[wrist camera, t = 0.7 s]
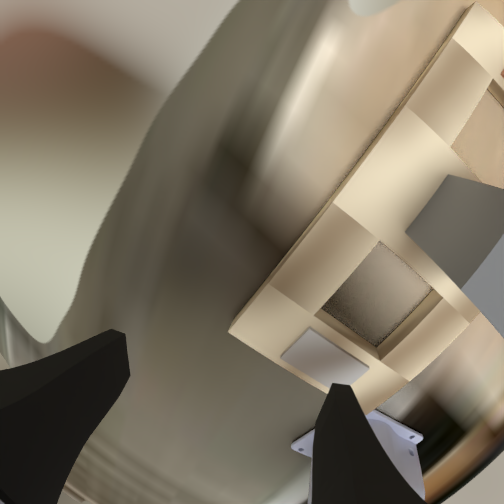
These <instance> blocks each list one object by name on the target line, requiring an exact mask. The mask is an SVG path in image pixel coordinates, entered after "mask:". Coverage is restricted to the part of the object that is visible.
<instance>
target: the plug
mask: <svg viewBox="0 0 504 504" xmlns="http://www.w3.org/2000/svg"><path fill="white" fill-rule="evenodd" d="M405 233H406V234H407V235H408V236H409V237H410V238H411V239H412V240H413V241H414V242H415V243H416V244H417V245H418V246H419V247H420V248H421V249H422V250H423V251H424V252H425V253H426V254H427V255H428V256H429V257H430V258H431V259H432V260H433V261H434V262H435V263H436V264H437V265H438V266H439V267H440V268H441V269H442V270H443V271H444V273H445V274H446V275H447V276H448V277H449V278H450V279H451V280H452V281H453V282H454V283H455V284H456V286H457V287H458V288H459V289H460V290H461V291H462V292H463V293H464V294H465V295H466V296H467V297H468V298H469V299H470V301H471V302H472V303H473V304H474V305H475V306H476V307H477V308H478V309H479V310H480V311H481V313H482V314H483V315H484V316H485V317H486V318H487V319H488V320H489V322H490V323H491V324H492V325H493V326H494V327H495V329H496V330H497V331H498V332H499V333H500V334H501V336H502V337H503V338H504V189H501V188H498V187H494V186H491V185H487V184H484V183H480V182H477V181H473V180H469V179H465V178H462V177H458V176H454V175H450V174H448V175H447V177H446V178H445V179H444V181H443V182H442V184H441V185H440V186H439V188H438V189H437V190H436V192H435V193H434V194H433V196H432V197H431V199H430V200H429V201H428V203H427V204H426V205H425V206H424V208H423V209H422V210H421V212H420V213H419V214H418V216H417V217H416V218H415V219H414V221H413V222H412V223H411V225H410V226H409V227H408V228H407V230H406V231H405Z"/></svg>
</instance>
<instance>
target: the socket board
mask: <svg viewBox="0 0 504 504" xmlns="http://www.w3.org/2000/svg"><path fill="white" fill-rule="evenodd" d="M486 89H488V90H489V91H490V92H491V93H492V95H493V96H494V97H495V98H496V99H497V100H498V101H499V103H500V104H501V105H502V106H503V107H504V27H503V26H502V25H501V24H500V23H499V22H498V21H497V20H496V19H495V18H494V17H493V16H492V15H491V14H490V13H489V12H488V11H487V10H486V9H485V8H484V7H482V6H481V5H480V4H479V3H478V2H477V1H475V2H474V3H473V4H472V5H471V6H469V7H468V8H467V9H466V10H465V12H464V13H463V15H462V16H461V18H460V19H459V21H458V22H457V24H456V25H455V27H454V28H453V30H452V31H451V33H450V34H449V36H448V37H447V39H446V40H445V42H444V43H443V44H442V46H441V47H440V49H439V50H438V52H437V53H436V55H435V56H434V57H433V59H432V60H431V62H430V63H429V65H428V66H427V67H426V69H425V70H424V72H423V73H422V75H421V76H420V77H419V79H418V80H417V82H416V83H415V84H414V86H413V87H412V89H411V90H410V91H409V93H408V94H407V96H406V97H405V98H404V100H403V101H402V103H401V104H400V105H399V107H398V108H397V109H396V111H395V112H394V114H393V115H392V116H391V118H390V119H389V120H388V122H387V123H386V125H385V126H384V127H383V129H382V130H381V131H380V133H379V134H378V135H377V137H376V138H375V139H374V141H373V142H372V143H371V145H370V146H369V148H368V149H367V150H366V152H365V153H364V154H363V156H362V157H361V158H360V160H359V161H358V162H357V164H356V165H355V166H354V167H353V169H352V170H351V171H350V173H349V174H348V175H347V177H346V178H345V179H344V181H343V182H342V183H341V185H340V186H339V187H338V189H337V190H336V191H335V192H334V194H333V195H332V196H331V198H330V199H329V200H328V202H327V203H326V204H325V205H324V207H323V208H322V209H321V211H320V212H319V213H318V215H317V216H316V217H315V218H314V220H313V221H312V222H311V224H310V225H309V226H308V227H307V229H306V230H305V231H304V232H303V234H302V235H301V236H300V238H299V239H298V240H297V241H296V243H295V244H294V245H293V246H292V248H291V249H290V250H289V251H288V253H287V254H286V255H285V256H284V258H283V259H282V260H281V262H280V263H279V264H278V265H277V267H276V268H275V269H274V270H273V272H272V273H271V274H270V275H269V277H268V278H267V279H266V280H265V281H264V283H263V284H262V285H261V286H260V288H259V289H258V290H257V291H256V293H255V294H254V295H253V296H252V298H251V299H250V300H249V301H248V302H247V304H246V305H245V306H244V307H243V309H242V310H241V311H240V312H239V313H238V315H237V316H236V317H235V318H234V319H233V322H232V324H231V326H230V328H229V331H228V332H229V333H230V334H232V335H233V336H235V337H236V338H238V339H239V340H241V341H242V342H244V343H245V344H247V345H248V346H250V347H251V348H253V349H254V350H256V351H258V352H259V353H261V354H262V355H264V356H265V357H267V358H269V359H270V360H272V361H273V362H275V363H276V364H278V365H280V366H281V367H283V368H285V369H286V370H288V371H289V372H291V373H293V374H294V375H296V376H298V377H299V378H301V379H303V380H304V381H306V382H308V383H309V384H311V385H313V386H314V387H316V388H318V389H320V390H321V391H323V392H325V393H327V394H328V392H329V389H330V387H331V385H332V383H338V384H346V385H350V386H351V387H352V389H353V391H354V394H355V396H356V398H357V400H358V402H359V404H360V406H361V408H362V410H363V412H364V414H365V415H367V414H369V413H370V412H372V411H373V410H374V409H376V408H377V407H378V406H380V405H381V404H382V403H384V402H385V401H386V400H387V399H389V398H390V397H391V396H392V395H394V394H395V393H396V392H397V391H399V390H400V389H401V388H402V387H404V386H405V385H406V384H407V383H408V382H409V381H411V380H412V379H413V378H414V377H415V376H416V375H418V374H419V373H420V372H421V371H422V370H423V369H424V368H425V367H427V366H428V365H429V364H430V363H431V362H432V361H433V360H434V359H435V358H436V357H437V356H438V355H439V354H441V353H442V352H443V351H444V350H445V349H446V348H447V347H448V346H449V345H450V344H451V343H452V342H453V341H454V340H455V339H456V338H457V337H458V336H459V335H460V334H461V332H462V331H463V330H464V329H465V328H466V327H467V326H468V325H469V324H470V323H471V322H472V321H473V320H474V318H475V317H476V316H477V315H478V314H479V313H480V312H481V311H480V310H479V309H478V308H477V307H476V306H475V305H474V304H473V303H472V302H471V301H470V299H469V298H468V297H467V296H466V295H465V294H464V293H463V292H462V291H461V290H460V289H459V288H458V287H457V286H456V284H455V283H454V282H453V281H452V280H451V279H450V278H449V277H448V276H447V275H446V274H445V273H444V271H443V270H442V269H441V268H440V267H439V266H438V265H437V264H436V263H435V262H434V261H433V260H432V259H431V258H430V257H429V256H428V255H427V254H426V253H425V252H424V251H423V250H422V249H421V248H420V247H419V246H418V245H417V244H416V243H415V242H414V241H413V240H412V239H411V238H410V237H409V236H408V235H407V234H406V233H405V231H406V230H407V228H408V227H409V226H410V225H411V223H412V222H413V221H414V219H415V218H416V217H417V216H418V214H419V213H420V212H421V210H422V209H423V208H424V206H425V205H426V204H427V203H428V201H429V200H430V199H431V197H432V196H433V194H434V193H435V192H436V190H437V189H438V188H439V186H440V185H441V184H442V182H443V181H444V179H445V178H446V177H447V175H448V174H450V175H454V176H458V177H462V178H465V179H469V180H473V181H477V182H480V183H482V182H481V181H480V180H479V179H478V177H477V176H476V175H475V174H474V173H473V172H472V170H471V169H470V168H469V167H468V166H467V165H466V164H465V163H464V162H463V160H462V159H461V158H460V157H459V156H458V155H457V154H456V153H455V152H454V151H453V150H452V149H451V148H450V146H451V145H452V143H453V142H454V140H455V139H456V137H457V136H458V134H459V133H460V131H461V130H462V128H463V127H464V125H465V123H466V122H467V120H468V119H469V117H470V116H471V114H472V112H473V111H474V109H475V108H476V106H477V104H478V103H479V101H480V100H481V98H482V96H483V95H484V93H485V91H486ZM379 241H381V242H382V243H383V244H385V245H386V246H387V247H388V248H389V249H390V250H392V251H393V252H394V253H395V254H396V255H397V256H398V257H400V258H401V259H402V260H403V261H404V262H405V263H406V264H408V265H409V266H410V267H411V268H412V269H413V270H414V271H415V272H416V273H418V274H419V275H420V276H421V277H422V278H423V279H424V280H425V281H426V282H427V283H428V284H430V285H431V286H432V287H433V288H434V289H433V290H432V291H431V292H430V294H429V295H428V296H427V297H426V298H425V299H424V300H423V301H422V302H421V303H420V304H419V306H418V307H417V308H416V309H415V310H414V311H413V312H412V313H411V314H410V315H409V316H408V317H407V318H406V319H405V320H404V321H403V322H402V323H401V324H400V325H399V326H398V327H397V328H396V329H395V330H394V331H393V332H392V333H391V334H390V335H389V336H388V337H387V338H386V339H385V340H384V341H383V342H382V343H381V344H380V345H379V346H378V347H377V348H376V347H375V346H373V345H372V344H371V343H369V342H368V341H366V340H365V339H364V338H362V337H361V336H359V335H358V334H356V333H355V332H354V331H352V330H351V329H349V328H348V327H347V326H345V325H344V324H342V323H341V322H339V321H338V320H337V319H335V318H334V317H332V316H331V315H330V314H328V313H327V312H325V311H324V310H323V309H321V307H322V306H323V305H324V304H325V302H326V301H327V300H328V299H329V298H330V297H331V296H332V295H333V294H334V293H335V292H336V290H337V289H338V288H339V287H340V286H341V285H342V284H343V283H344V281H345V280H346V279H347V278H348V277H349V276H350V275H351V274H352V272H353V271H354V270H355V269H356V268H357V267H358V265H359V264H360V263H361V262H362V261H363V260H364V258H365V257H366V256H367V255H368V254H369V253H370V251H371V250H372V249H373V248H374V247H375V245H376V244H377V243H378V242H379Z"/></svg>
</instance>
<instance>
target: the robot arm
mask: <svg viewBox="0 0 504 504" xmlns="http://www.w3.org/2000/svg"><path fill="white" fill-rule="evenodd" d="M129 377H130V369H129V361H128V354H127V345H126V336H125V333H122V332H119V331H116V330H113V329H110V330H108V331H105V332H103V333H100V334H98V335H96V336H94V337H92V338H89V339H87V340H85V341H83V342H81V343H79V344H76V345H74V346H72V347H70V348H68V349H65V350H63V351H61V352H58V353H56V354H53V355H51V356H48V357H45V358H43V359H40V360H38V361H35V362H32V363H29V364H25V365H22V366H18V367H15V368H10V369H6V370H0V504H57V502H58V499H59V496H60V494H61V491H62V489H63V487H64V484H65V482H66V479H67V477H68V475H69V473H70V471H71V469H72V467H73V465H74V463H75V461H76V459H77V457H78V455H79V453H80V452H81V450H82V448H83V446H84V444H85V443H86V441H87V440H88V438H89V437H90V435H91V434H92V433H93V431H94V430H95V429H96V427H97V426H98V425H99V423H100V422H101V420H102V419H103V418H104V416H105V415H106V414H107V412H108V411H109V410H110V408H111V407H112V406H113V404H114V403H115V402H116V400H117V399H118V397H119V396H120V394H121V392H122V390H123V389H124V387H125V385H126V383H127V381H128V379H129ZM422 439H423V435H422V434H420V433H418V432H416V431H414V430H412V429H410V428H408V427H407V426H405V425H403V424H401V423H399V422H397V421H395V420H393V419H391V418H390V417H388V416H386V415H384V414H382V413H380V412H379V411H377V410H375V409H374V410H373V411H372V412H370V413H369V414H367V415H365V414H364V412H363V410H362V408H361V406H360V404H359V402H358V400H357V398H356V396H355V394H354V391H353V389H352V387H351V386H350V385H346V384H338V383H332V385H331V387H330V389H329V392H328V394H327V397H326V399H325V402H324V404H323V406H322V409H321V411H320V413H319V416H318V418H317V420H316V425H315V429H313V430H312V431H310V432H309V433H307V434H306V435H304V436H303V437H301V438H299V439H298V440H296V441H295V442H293V443H292V444H291V448H292V449H293V450H295V451H297V452H299V453H302V454H304V455H306V456H308V457H311V471H310V483H309V494H308V504H427V503H426V502H425V501H424V499H425V489H424V483H423V478H422V472H421V467H420V462H419V457H418V453H417V448H416V444H417V443H419V442H420V441H422Z"/></svg>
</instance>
